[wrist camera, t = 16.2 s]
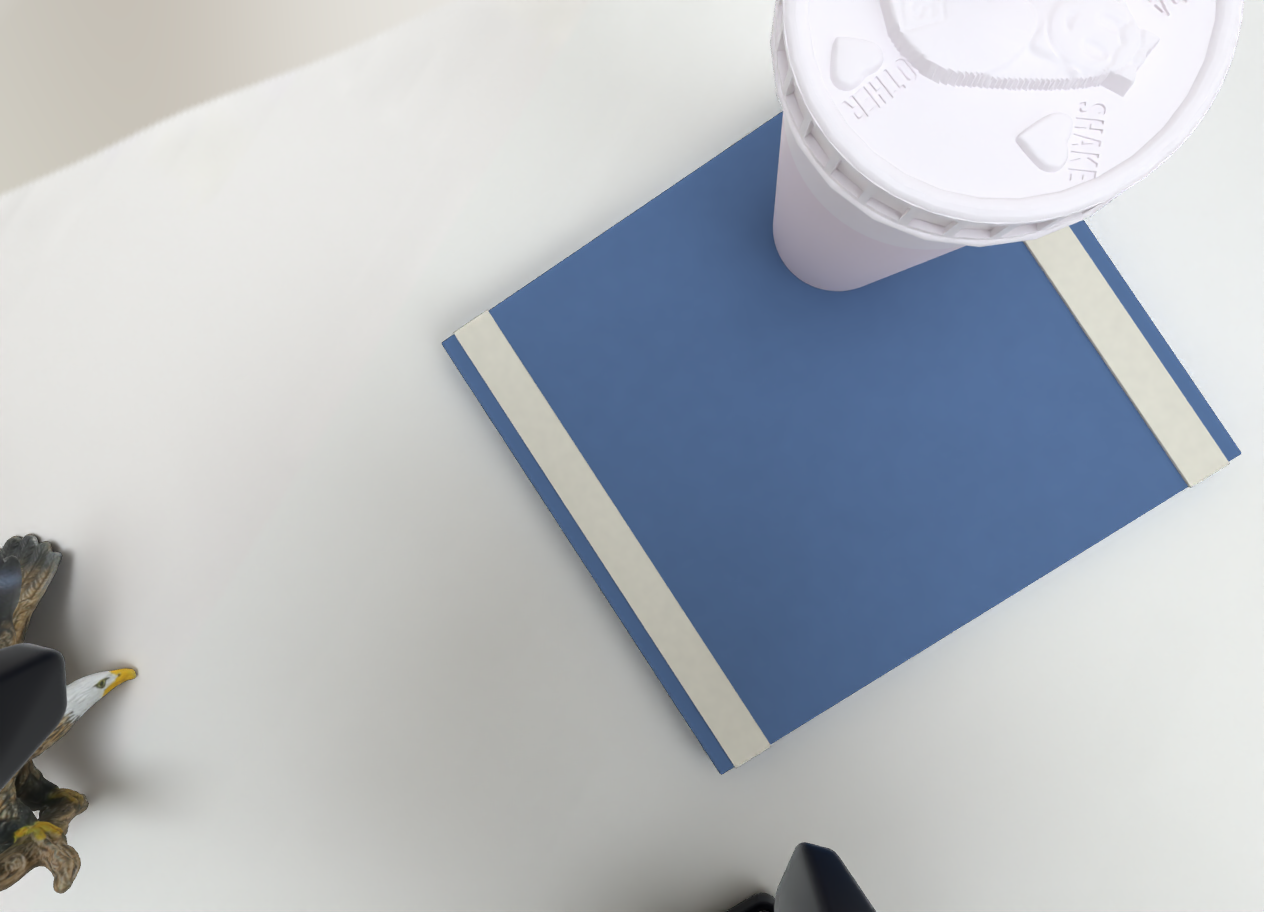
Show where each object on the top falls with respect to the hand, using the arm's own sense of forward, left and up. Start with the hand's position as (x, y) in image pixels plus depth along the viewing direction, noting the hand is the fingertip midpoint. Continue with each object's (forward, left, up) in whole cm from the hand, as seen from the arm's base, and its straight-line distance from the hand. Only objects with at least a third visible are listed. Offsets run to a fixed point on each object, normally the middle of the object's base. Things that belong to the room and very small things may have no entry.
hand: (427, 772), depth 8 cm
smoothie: (+4, -12, -12) cm, 17 cm away
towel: (+1, -9, -12) cm, 15 cm away
